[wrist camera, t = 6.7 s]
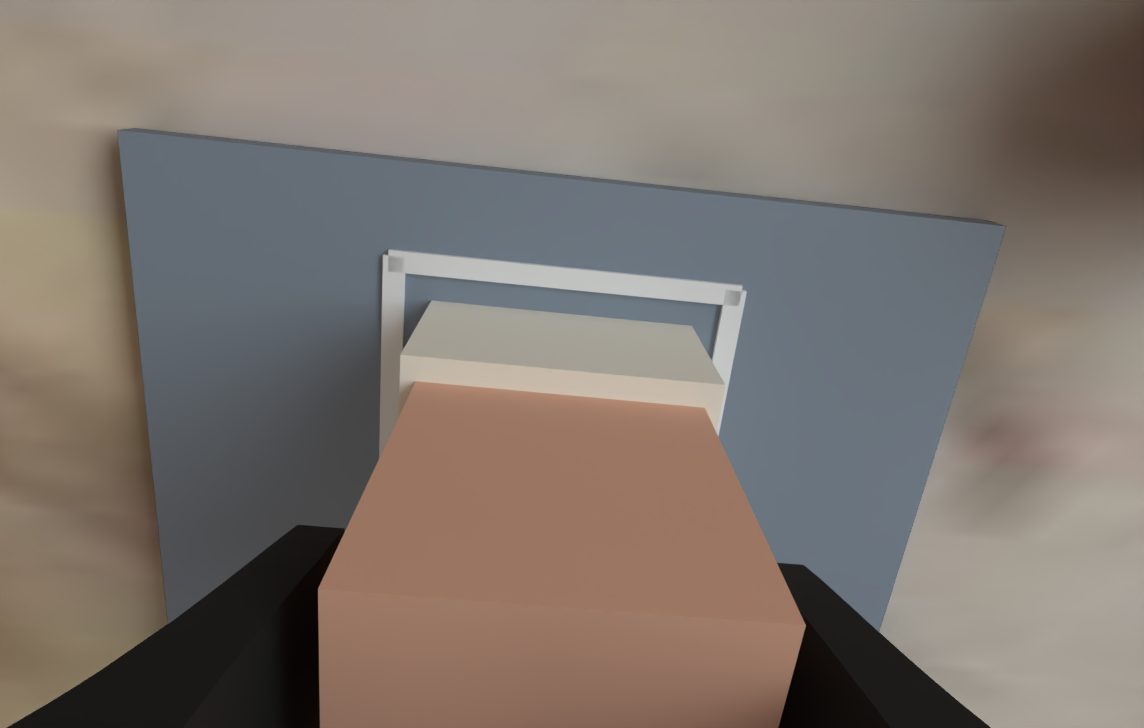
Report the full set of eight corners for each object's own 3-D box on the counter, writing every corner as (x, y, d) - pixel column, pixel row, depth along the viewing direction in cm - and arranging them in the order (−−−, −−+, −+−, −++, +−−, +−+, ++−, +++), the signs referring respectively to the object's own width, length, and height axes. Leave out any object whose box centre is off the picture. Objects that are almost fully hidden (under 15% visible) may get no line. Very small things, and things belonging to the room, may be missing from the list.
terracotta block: (661, 637, 13) (720, 943, 8) (406, 619, 13) (322, 922, 8) (704, 408, 12) (806, 625, 7) (415, 380, 11) (317, 588, 7)
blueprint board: (776, 915, 21) (818, 1073, 18) (207, 887, 20) (138, 1046, 17) (988, 220, 14) (1121, 263, 11) (135, 128, 13) (-6, 143, 10)
